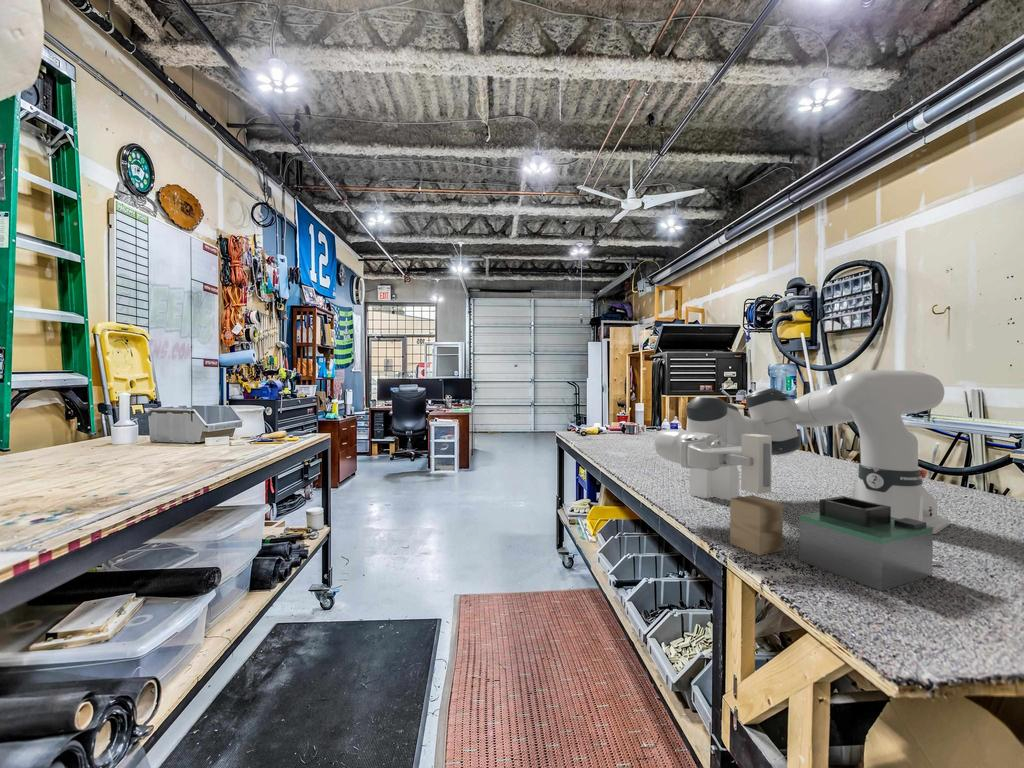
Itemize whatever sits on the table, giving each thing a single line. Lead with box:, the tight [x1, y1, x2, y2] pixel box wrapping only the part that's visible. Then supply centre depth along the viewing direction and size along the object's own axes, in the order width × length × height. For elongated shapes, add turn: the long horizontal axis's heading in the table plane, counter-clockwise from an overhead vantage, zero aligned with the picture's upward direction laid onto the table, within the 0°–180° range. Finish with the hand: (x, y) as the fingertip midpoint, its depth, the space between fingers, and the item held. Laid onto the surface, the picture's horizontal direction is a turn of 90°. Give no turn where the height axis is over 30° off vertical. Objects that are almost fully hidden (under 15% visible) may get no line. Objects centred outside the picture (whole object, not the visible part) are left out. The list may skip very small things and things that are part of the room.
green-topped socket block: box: [798, 495, 934, 592], centre depth 83 cm, size 16×14×12 cm
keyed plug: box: [740, 434, 773, 495], centre depth 92 cm, size 4×5×12 cm
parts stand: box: [729, 494, 784, 557], centre depth 93 cm, size 7×7×10 cm
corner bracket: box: [689, 465, 741, 501], centre depth 135 cm, size 11×11×12 cm
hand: (760, 461), depth 92 cm, fingers closed on keyed plug, 4 cm apart
